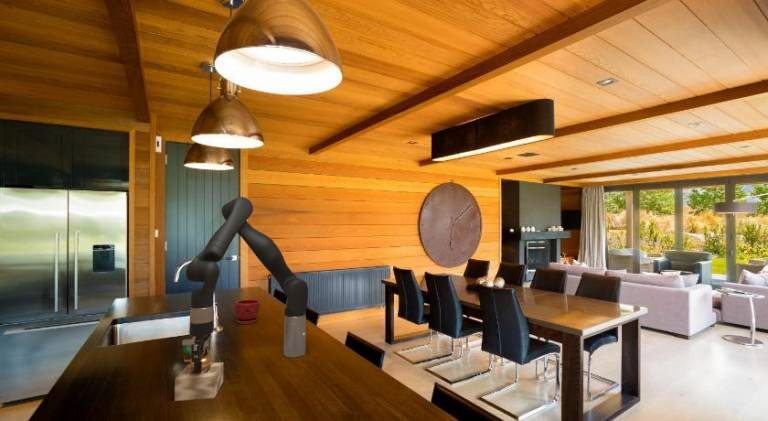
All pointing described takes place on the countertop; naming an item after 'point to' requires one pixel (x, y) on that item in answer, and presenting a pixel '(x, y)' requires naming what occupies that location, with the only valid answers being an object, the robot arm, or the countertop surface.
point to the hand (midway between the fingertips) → (200, 368)
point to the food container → (187, 349)
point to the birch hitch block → (199, 383)
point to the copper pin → (203, 363)
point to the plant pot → (247, 311)
